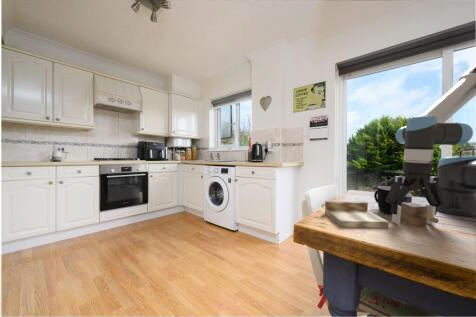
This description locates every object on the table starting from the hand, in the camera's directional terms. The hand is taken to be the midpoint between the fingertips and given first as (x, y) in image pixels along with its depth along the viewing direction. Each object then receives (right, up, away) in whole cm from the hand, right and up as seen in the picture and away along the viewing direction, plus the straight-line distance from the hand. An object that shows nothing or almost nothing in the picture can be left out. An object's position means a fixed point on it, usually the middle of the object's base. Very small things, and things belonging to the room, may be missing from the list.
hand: (412, 223), depth 71 cm
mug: (0, +1, +13) cm, 13 cm away
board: (-19, 0, +3) cm, 19 cm away
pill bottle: (+8, +1, +14) cm, 17 cm away
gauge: (0, 0, -3) cm, 3 cm away
